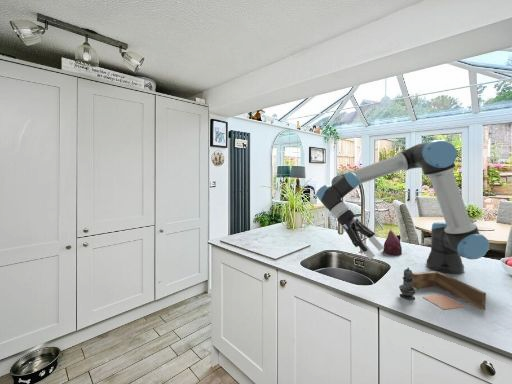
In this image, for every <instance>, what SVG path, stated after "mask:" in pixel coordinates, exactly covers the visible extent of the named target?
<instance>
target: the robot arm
mask: <svg viewBox="0 0 512 384" xmlns="http://www.w3.org/2000/svg"><path fill="white" fill-rule="evenodd" d="M457 157H458V150H457V148H456V147H455V145H454V144H453V143H452V142H450V141H448V140H444V139H435V140H430V141H427V142H422V143H418V144H415V145H414V146H411V147H408V148H407V149H405V150H403V151H402V150H401V151H399V152H396V155H395V156H391V157H388V158H385V159H382V160H379V161H377V162H375V163H372V164H369V165H366V166H363V167H361V168H357V169H355V170H352V171H348V172H346V173H344V174H341V175H336V176H334V177H333V178H332V179H331V186H330V185H328V184H325V185H323V186H321V187H320V188H319V189H318V190H317V191H316V192H315V193H316V197H317V199H318V200H319V201H320V203H321V204H323V206H325V208H326V209H327V210H328V211H329V212H330V214H331V216H333V217H334V219H336V220H337V222H338V223H339V225H340V226H342V228H343V229H344V231H345V232H346V234H347V235H348V237H349V240H350V241H351V243H352V245H354V247H355V248H358V247H359V249H360V250H361V251H362V252H363V254H365V256H366V257H367V258H368V259H369V260H372V259H373V258H374V257H376V254H375V253H374V251H372V250H371V249H370V247H369V246H368V245H367V244H366V243H365V242H363V241H362V238H361V236H360V234H362V235H364V237H366V238H368V241H369V242H370V243H371V244H372V245H373V246H374V247H375V249H377V250H378V251H379V252H380V251H382V250H383V248H384V244H382V243H381V242H380V241H379V239H377V237H376V236H375V234H376V233H375V232H374V231H373V230H371V229H370V228H369V227H368V226H367V225H365V224H364V223H363V222H361V220H359V219H358V218H356V215H355V213H354V212H353V211H352V209H350V208H349V206H348V205H347V204H346V203H345V202H344V200H342V199H343V198H344V197H346V195H348V194H349V193H350V192H352V191H353V190H355V189H356V188H358V186H360V185H361V184H364V183H366V182H370V181H373V180H375V179H379V178H382V177H385V176H388V175H391V174H394V173H396V172H400V171H404V172H405V171H409V170H413V169H421V170H422V172H423V175H424V176H425V177H428V178H429V181H430V182H431V186H432V189H433V191H434V194H435V196H436V197H435V198H436V199H437V202H438V205H439V208H440V210H441V213H442V216H443V219H444V221H443V222H439V221H438V222H437V221H436V222H433V223H432V225H431V236H430V237H431V240H430V241H431V243H430V246H431V248H430V252H429V255H428V258H427V259H426V267H428V268H430V269H432V270H433V271H438V272H440V273H447V274H448V273H449V274H462V273H463V272H464V270H465V266H464V264H463V259H462V258H465V259H467V260H472V261H473V260H478V259H481V258H483V257H484V256H485V255H486V254H487V252H489V249H490V242H489V239H488V238H487V237H486V236H485V235H483V234H481V233H480V231H479V228H478V225H477V224H476V223H474V222H471V220H470V219H471V218H470V216H469V214H468V211H467V208H466V205H465V202H464V200H463V197H462V193H461V191H460V189H459V185H458V183H457V180H456V178H455V174H454V170H455V168H456V163H455V162H456V159H457ZM354 218H356V219H354Z"/></svg>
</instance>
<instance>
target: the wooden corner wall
mask: <svg viewBox="0 0 512 384" xmlns="http://www.w3.org/2000/svg"><path fill="white" fill-rule="evenodd" d="M412 279H413V281H412V286H413V287H414V288H416V289H423V288H431V287H432V288H433V287H436V288H439V289H441V290H442V291H445V292H446V291H447V293H448V292H449V294H451V295H452V296H454V297H457V298H458V299H460V300H462V301H464V302H466V303H468V304H470V305H472V306H474V307H476V308H478V309H479V310H486V301H487V300H486V298H487V292H485V291H483V290H480V289H478V288H476V287H473V286H471V285H469V284H467V283H465V282H462V281H461V280H458V279H455V278H453V277H451V276H449V275H447V274H445V273H443V272H441V271H437V270H432V271H431V270H430V271H421V272H412Z"/></svg>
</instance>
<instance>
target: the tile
mask: <svg viewBox="0 0 512 384" xmlns="http://www.w3.org/2000/svg"><path fill="white" fill-rule="evenodd" d="M422 298H423V299H424V300H427V301H428V302H430V303H432V304H433V305H435V306H437V307H438V308H440V309H442V310H443V311H444V310H452V309H458V308H465V307H466V305H463V304H462V303H460V302H458V301H457V300H454V299H453V298H451V297H449V296H447V295H446V294H443V293H442V294H433V295H426V296H425V295H424V296H422Z"/></svg>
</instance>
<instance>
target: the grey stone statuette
mask: <svg viewBox="0 0 512 384" xmlns="http://www.w3.org/2000/svg"><path fill="white" fill-rule="evenodd" d="M412 273H413V271H412V270H411V269H410V267H407V268H406V269H404V270H403V277H402V280H403V282H402V284H400V285H399V286H398V288H399V292H400V293H399V297H400V298H401V299H403V300H406V301H415V300H416V297H415V296H414V295H415V294H416V292H417V288H414V287H413V286H412V281H413V279H412Z"/></svg>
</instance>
